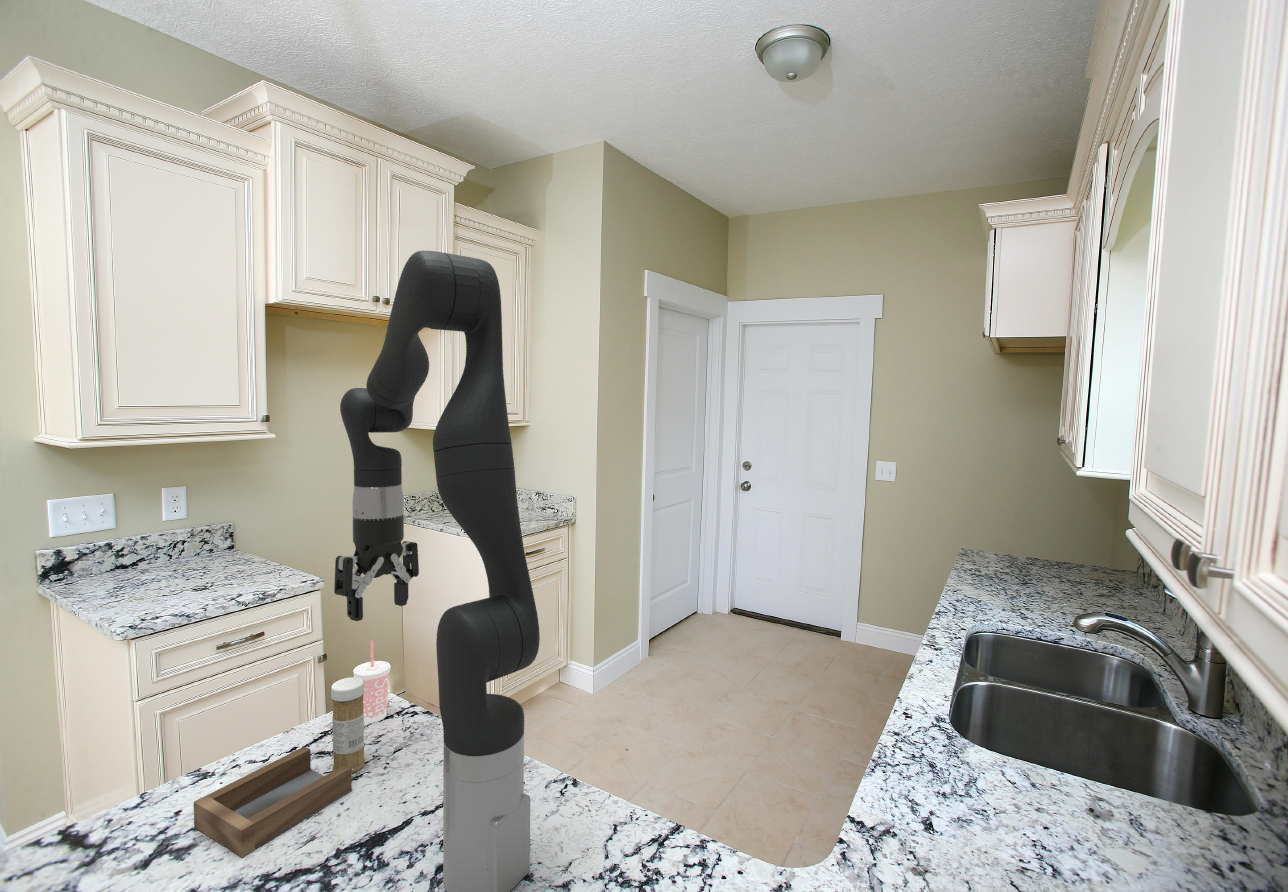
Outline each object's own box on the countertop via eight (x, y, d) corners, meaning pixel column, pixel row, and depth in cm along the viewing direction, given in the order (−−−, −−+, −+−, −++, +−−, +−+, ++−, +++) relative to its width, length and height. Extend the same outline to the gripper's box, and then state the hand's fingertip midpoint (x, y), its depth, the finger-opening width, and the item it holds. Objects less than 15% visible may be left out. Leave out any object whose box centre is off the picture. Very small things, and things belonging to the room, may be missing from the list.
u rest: (351, 790, 87) (351, 767, 87) (242, 857, 74) (241, 830, 74) (304, 768, 92) (304, 746, 92) (194, 827, 79) (193, 801, 79)
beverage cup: (359, 729, 104) (358, 649, 103) (349, 715, 108) (348, 639, 107) (395, 717, 108) (395, 641, 107) (384, 704, 112) (384, 631, 111)
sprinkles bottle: (360, 755, 96) (360, 673, 95) (368, 768, 92) (368, 683, 92) (328, 765, 93) (328, 681, 92) (335, 780, 89) (335, 692, 89)
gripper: (355, 522, 89) (356, 630, 89) (429, 509, 101) (430, 603, 102) (322, 517, 92) (323, 621, 93) (397, 505, 105) (398, 597, 105)
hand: (379, 612), depth 97 cm, fingers open, 8 cm apart
